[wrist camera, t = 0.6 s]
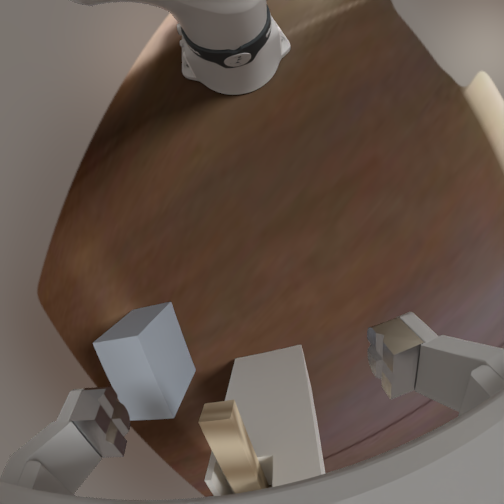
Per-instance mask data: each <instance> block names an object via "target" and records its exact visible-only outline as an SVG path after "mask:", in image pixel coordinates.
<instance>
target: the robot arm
mask: <svg viewBox="0 0 504 504" xmlns="http://www.w3.org/2000/svg"><path fill="white" fill-rule="evenodd" d="M70 1H72V2H75V3H78V4H82V5H88V6H93V5H98V4H104V3H110V2H136V3H144V4H149V5H153V6H156V7H159V8H162V9H164V10H167V11H168V12H170V13H171V14H172V15H173V16H174V18H175V19H176V20H177V21H178V23H179V24H177V30H178V34H179V35H182V40H180V46H181V48H182V73H183V75H184V77H185V78H187V79H191V80H196V81H199V82H201V83H203V84H204V85H206V86H207V87H208V88H210V89H212V90H214V91H216V92H219V93H222V94H228V95H239V94H245V93H249V92H252V91H254V90H257V89H258V88H260V87H262V86H263V85H265V84H266V83H267V82H268V81H269V80H270V79H271V78H272V77H273V75H274V74H275V72H276V70H277V67H278V65H279V62H280V60H281V59H282V58H283V57H284V56H285V55H286V54H287V53H288V52H289V51H290V48H291V46H290V43H289V41H288V39H287V38H286V37H285V35H284V34H283V32H282V31H281V29H280V27H279V26H278V25H277V23H276V22H275V21H274V19H273V18H272V16H271V14H270V11H269V8H268V6H267V4H266V0H70ZM187 66H189V67H187ZM367 339H368V340H369V342H370V343H371V345H370V347H369V348H368V360H369V365H370V368H371V370H372V372H373V374H374V375H375V377H377V378H380V379H382V387H383V389H384V390H385V392H386V393H387V395H388V397H389V398H390V400H391V399H393V398H396V397H399V396H401V395H404V394H406V393H409V392H411V391H413V390H415V391H416V392H418V393H420V394H422V395H424V396H426V397H428V398H430V399H432V400H434V401H437V402H439V403H441V404H443V405H445V406H447V407H449V408H452V409H454V410H456V411H458V412H459V415H458V417H457V418H455V419H453V420H451V421H450V422H448V423H446V424H444V425H442V426H440V427H438V428H436V429H435V430H433V431H431V432H429V433H427V434H425V435H423V436H420V437H418V438H416V439H414V440H412V441H410V442H408V443H406V444H403V445H401V446H399V447H396V448H394V449H392V450H389V451H387V452H385V453H382V454H380V455H377V456H375V457H372V458H369V459H367V460H364V461H361V462H359V463H356V464H353V465H350V466H347V467H344V468H341V469H338V470H335V471H332V472H329V473H325V474H322V475H319V476H315V477H311V478H308V479H304V480H300V481H296V482H292V483H288V484H284V485H279V486H275V487H270V488H265V489H260V490H254V491H248V492H242V493H236V494H229V495H221V496H212V497H203V498H191V499H175V500H115V499H101V498H88V497H79V496H75V495H74V493H75V492H76V491H77V490H78V488H79V487H80V486H81V484H82V483H83V482H84V481H85V480H86V478H87V477H88V476H89V475H90V473H91V472H92V471H93V469H94V468H95V467H96V466H97V465H98V463H99V462H100V461H101V459H102V458H101V457H123V456H124V452H125V448H126V443H127V441H126V439H125V438H124V436H125V435H126V434H127V433H128V432H129V429H130V416H129V414H128V411H127V409H126V407H125V406H124V405H123V404H122V403H120V402H118V401H117V397H118V395H117V393H116V392H115V390H114V389H113V388H112V387H109V386H108V387H97V388H85V389H73V390H72V391H70V393H69V395H68V397H67V399H66V401H65V403H64V405H63V407H62V410H61V412H60V414H59V416H58V419H57V420H56V422H52V423H50V424H49V425H48V426H47V427H45V428H44V429H43V430H42V431H41V432H39V433H38V434H37V435H36V436H34V437H33V438H32V439H31V440H29V441H28V442H27V443H26V444H25V445H23V446H22V447H21V448H20V449H18V450H17V451H16V452H15V453H13V454H12V455H11V456H10V457H9V460H8V462H7V464H6V466H5V468H4V471H3V473H2V475H1V478H0V504H504V349H502V348H498V347H493V346H489V345H484V344H480V343H475V342H471V341H466V340H462V339H458V338H454V337H449V336H445V335H441V336H438V335H437V334H436V333H435V332H434V331H432V330H431V329H430V328H429V327H428V326H427V325H426V324H425V323H424V322H423V321H422V320H421V319H419V318H418V317H417V316H416V315H415V314H414V313H413V312H408V313H406V314H403V315H401V316H398V317H396V318H394V319H392V320H389V321H386V322H383V323H380V324H378V325H375V326H372V327H369V328H368V331H367Z"/></svg>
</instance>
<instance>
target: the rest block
mask: <svg viewBox="0 0 504 504" xmlns="http://www.w3.org/2000/svg"><path fill="white" fill-rule="evenodd" d="M93 346H94V348H95V350H96V353H97V355H98V357H99V359H100V362H101V364H102V366H103V368H104V371H105V373H106V375H107V377H108V379H109V381H110V383H111V385H112V387H113V389H114V390H115V392H116V393H117V395H118V399H119V401H120V403H122V404H123V405H124V406H125V407H126V409H127V411H128V414H129V416H130V420H154V419H171V418H174V417H175V415H176V413H177V411H178V408H179V406H180V404H181V402H182V399H183V397H184V395H185V393H186V391H187V388H188V386H189V384H190V382H191V380H192V377H193V375H194V373H195V371H196V370H195V367H194V364H193V362H192V359H191V356H190V354H189V351H188V348H187V346H186V343H185V340H184V338H183V335H182V332H181V329H180V326H179V324H178V321H177V318H176V315H175V312H174V309H173V306H172V303H171V302H167V303H162V304H158V305H153V306H148V307H144V308H139V309H135V310H132V311H131V312H129V313H128V314H127V315H126V316H125V317H123V318H122V319H121V320H120V321H118V322H117V323H116V324H115V325H114V326H112V327H111V328H110V329H109V330H108V331H106V332H105V333H104V334H103V335H102V336H100V337H99V338H98V339H97V340H96V341H94V342H93Z"/></svg>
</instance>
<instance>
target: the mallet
mask: <svg viewBox="0 0 504 504" xmlns="http://www.w3.org/2000/svg"><path fill="white" fill-rule="evenodd" d="M198 423H199V425H200V427H201V429H202V431H203V433H204V435H205V437H206V439H207V441H208V443H209V445H210V447H211V449H212V451H213V453H214V455H215V457H216V459H217V461H218V463H219V465H220V467H221V469H222V471H223V473H224V474H225V476H226V478H227V480H228V482H229V484H230V485H231V487H232V489H233V491H234V493H235V494H236V493H242V492H248V491H254V490H260V489H265V488H270V487H272V485H269V484H268V482H267V479H266V477H265V475H264V472H263V470H262V468H261V465H260V463H259V461H258V458H257V456H256V453H255V451H254V448H253V446H252V444H251V441H250V439H249V436H248V434H247V431H246V428H245V426H244V423H243V421H242V418H241V416H240V413H239V410H238V408H237V405H236V403H235V400H228V401H221V402H213V403H205V404H204V407H203V410H202V413H201V416H200V419H199V422H198Z"/></svg>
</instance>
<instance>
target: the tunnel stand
mask: <svg viewBox="0 0 504 504" xmlns="http://www.w3.org/2000/svg"><path fill="white" fill-rule="evenodd" d="M228 400H235V403H236V405H237V408H238V410H239V413H240V416H241V418H242V421H243V423H244V426H245V428H246V431H247V434H248V436H249V439H250V441H251V444H252V446H253V448H254V451H255V453H256V456H257V458H258V461H259V463H260V465H261V468H262V470H263V472H264V475H265V477H266V479H267V482H268V484H269V485H272V487H275V486H279V485H284V484H288V483H292V482H296V481H300V480H304V479H308V478H311V477H315V476H319V475H322V474H325V469H324V462H323V456H322V449H321V443H320V437H319V431H318V424H317V418H316V412H315V407H314V401H313V395H312V389H311V384H310V380H309V376H308V372H307V367H306V363H305V359H304V355H303V350H302V346H301V345H297V346H293V347H288V348H284V349H279V350H275V351H270V352H266V353H261V354H256V355H251V356H246V357H241V358H236V359H235V361H234V365H233V369H232V373H231V377H230V382H229V386H228V390H227V394H226V398H225V401H228ZM205 482H206V484H207V485H208V487H209V489H210V490H211V492H212V493H213V495H214V496H221V495H229V494H235V493H234V491H233V489H232V487H231V485H230V484H229V482H228V480H227V478H226V476H225V474H224V473H223V471H222V469H221V467H220V465H219V463H218V461H217V459H216V457H215V455H214V453H213V451H212V453H211V457H210V461H209V465H208V469H207V473H206V476H205Z"/></svg>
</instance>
